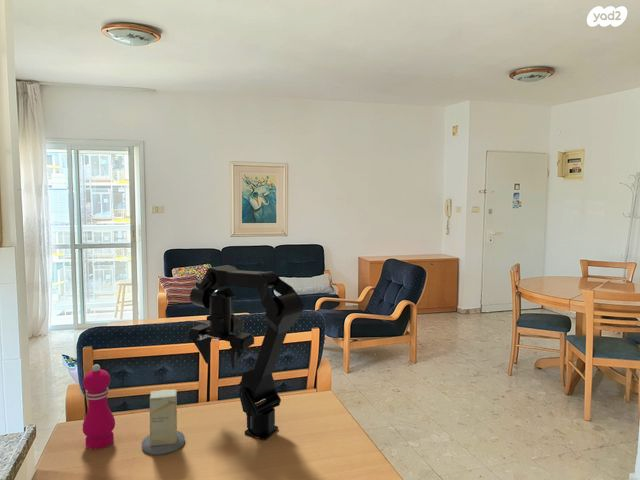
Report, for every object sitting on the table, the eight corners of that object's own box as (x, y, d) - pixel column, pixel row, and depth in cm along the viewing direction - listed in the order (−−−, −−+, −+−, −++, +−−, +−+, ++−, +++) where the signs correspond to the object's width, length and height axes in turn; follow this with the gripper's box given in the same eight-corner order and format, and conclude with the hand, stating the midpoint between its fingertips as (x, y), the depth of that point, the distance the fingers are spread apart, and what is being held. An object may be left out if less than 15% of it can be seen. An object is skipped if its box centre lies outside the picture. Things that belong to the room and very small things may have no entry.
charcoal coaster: (193, 438, 119) (193, 435, 119) (163, 459, 111) (163, 456, 110) (163, 429, 124) (163, 426, 124) (132, 448, 115) (132, 445, 115)
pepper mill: (103, 452, 113) (99, 371, 110) (76, 448, 114) (72, 368, 112) (122, 436, 120) (118, 360, 117) (96, 433, 121) (92, 357, 119)
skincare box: (150, 446, 114) (148, 398, 113) (151, 437, 118) (149, 390, 117) (177, 443, 116) (176, 395, 114) (177, 434, 120) (176, 387, 119)
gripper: (265, 309, 133) (265, 362, 135) (212, 300, 142) (213, 351, 144) (241, 319, 123) (242, 377, 125) (186, 309, 132) (187, 363, 134)
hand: (221, 366), depth 132 cm, fingers open, 9 cm apart
